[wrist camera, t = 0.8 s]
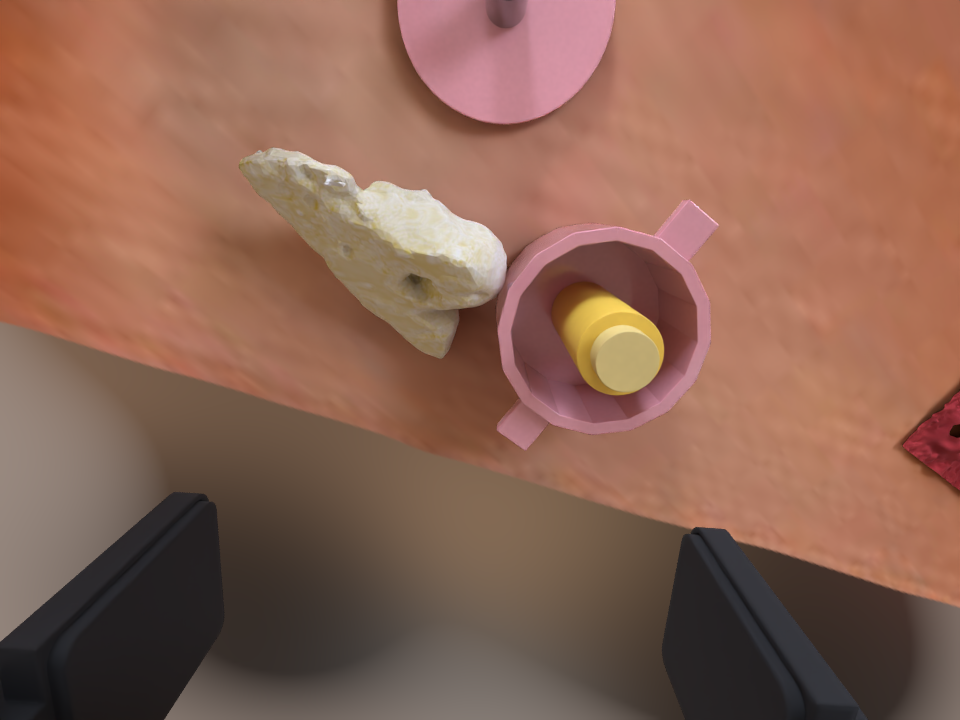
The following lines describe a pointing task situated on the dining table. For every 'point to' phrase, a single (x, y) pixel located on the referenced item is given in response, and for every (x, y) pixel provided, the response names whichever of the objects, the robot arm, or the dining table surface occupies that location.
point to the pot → (634, 280)
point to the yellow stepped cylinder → (607, 339)
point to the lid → (505, 52)
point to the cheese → (385, 244)
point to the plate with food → (939, 442)
